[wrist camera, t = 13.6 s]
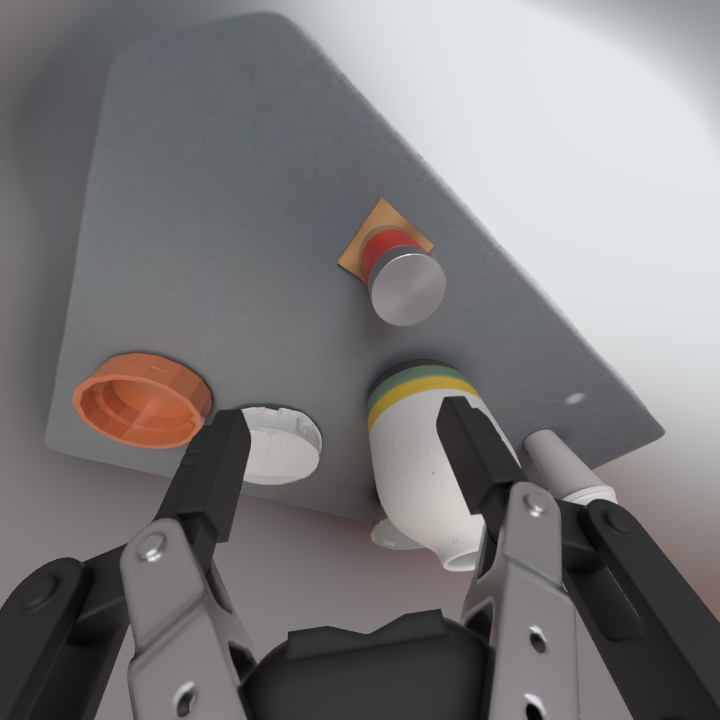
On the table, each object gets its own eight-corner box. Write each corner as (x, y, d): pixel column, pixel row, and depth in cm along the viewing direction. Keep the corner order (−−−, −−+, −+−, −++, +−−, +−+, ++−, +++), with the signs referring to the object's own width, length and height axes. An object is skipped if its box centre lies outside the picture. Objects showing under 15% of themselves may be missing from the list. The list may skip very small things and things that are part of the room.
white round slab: (346, 434, 50) (348, 467, 45) (282, 479, 57) (278, 512, 52) (251, 383, 40) (240, 418, 35) (190, 445, 48) (172, 482, 42)
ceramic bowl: (423, 510, 74) (435, 552, 66) (350, 500, 66) (353, 546, 58) (476, 469, 63) (497, 513, 55) (394, 451, 55) (406, 500, 47)
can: (347, 261, 30) (355, 302, 21) (382, 210, 27) (407, 234, 19) (388, 291, 33) (410, 338, 24) (423, 247, 30) (462, 284, 21)
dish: (92, 402, 39) (66, 429, 36) (110, 332, 33) (81, 356, 29) (195, 432, 46) (183, 458, 42) (227, 379, 39) (216, 403, 35)
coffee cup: (508, 452, 60) (553, 524, 48) (529, 424, 54) (586, 499, 42) (546, 451, 61) (598, 522, 49) (570, 424, 55) (636, 497, 43)
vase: (417, 431, 52) (470, 589, 33) (343, 404, 45) (355, 583, 26) (483, 372, 44) (603, 537, 25) (404, 329, 37) (485, 509, 18)
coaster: (337, 261, 31) (337, 262, 30) (380, 196, 27) (381, 197, 27) (388, 298, 34) (389, 299, 34) (433, 245, 30) (434, 246, 30)
